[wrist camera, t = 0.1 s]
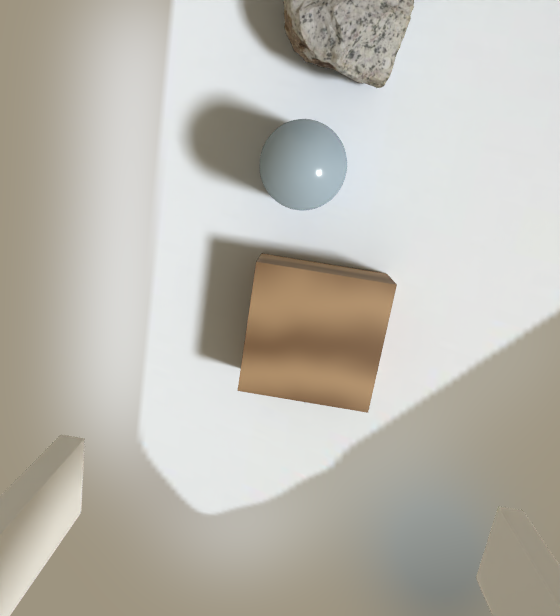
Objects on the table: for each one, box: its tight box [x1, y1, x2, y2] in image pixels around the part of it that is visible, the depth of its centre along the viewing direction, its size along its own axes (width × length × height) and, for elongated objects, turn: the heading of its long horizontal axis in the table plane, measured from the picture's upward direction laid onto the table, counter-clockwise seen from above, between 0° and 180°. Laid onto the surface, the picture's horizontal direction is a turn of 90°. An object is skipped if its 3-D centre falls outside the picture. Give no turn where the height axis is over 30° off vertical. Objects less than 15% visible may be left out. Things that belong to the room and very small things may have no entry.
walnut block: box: [238, 253, 397, 412], centre depth 40 cm, size 11×11×5 cm
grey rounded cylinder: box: [260, 119, 347, 210], centre depth 36 cm, size 6×6×7 cm
